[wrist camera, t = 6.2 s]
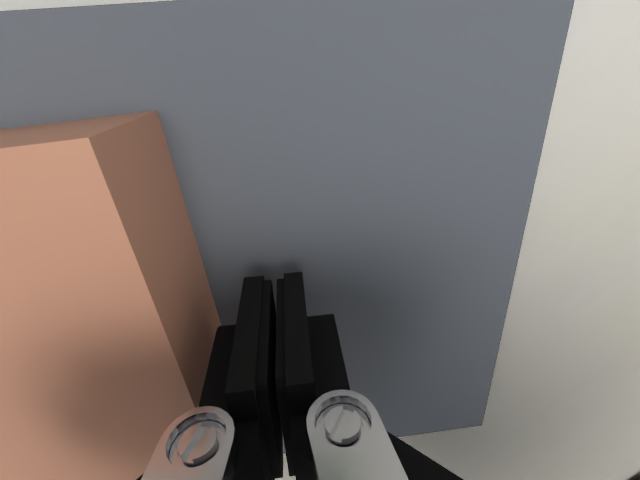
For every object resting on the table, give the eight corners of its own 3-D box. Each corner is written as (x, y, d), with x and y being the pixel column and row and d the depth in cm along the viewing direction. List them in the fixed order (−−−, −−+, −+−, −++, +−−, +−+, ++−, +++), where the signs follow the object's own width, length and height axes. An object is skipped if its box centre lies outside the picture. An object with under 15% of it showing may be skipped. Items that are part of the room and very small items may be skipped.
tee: (252, 428, 14) (244, 532, 11) (-35, 475, 14) (-128, 597, 10) (157, 110, 9) (88, 137, 6) (-329, 169, 8) (-706, 236, 5)
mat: (475, 413, 16) (481, 425, 16) (-250, 513, 14) (-271, 531, 14) (561, -19, 9) (579, -25, 8) (-901, 71, 7) (-998, 71, 6)
